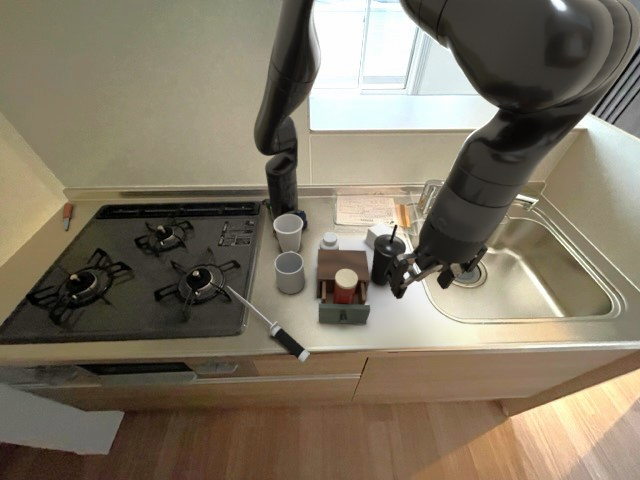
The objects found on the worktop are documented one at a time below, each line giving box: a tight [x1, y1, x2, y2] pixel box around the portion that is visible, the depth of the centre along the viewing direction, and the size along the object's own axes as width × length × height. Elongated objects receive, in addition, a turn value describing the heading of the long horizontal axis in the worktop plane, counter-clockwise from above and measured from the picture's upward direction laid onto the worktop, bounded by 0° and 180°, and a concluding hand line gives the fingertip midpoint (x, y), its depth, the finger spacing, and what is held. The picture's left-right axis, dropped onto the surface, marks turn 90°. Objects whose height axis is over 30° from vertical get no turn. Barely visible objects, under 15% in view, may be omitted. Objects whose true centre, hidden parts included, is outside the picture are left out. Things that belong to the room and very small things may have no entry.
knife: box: [227, 285, 311, 364], centre depth 59 cm, size 26×2×5 cm, turn 52°
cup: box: [274, 251, 305, 295], centre depth 68 cm, size 7×10×9 cm
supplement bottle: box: [319, 231, 340, 250], centre depth 73 cm, size 5×5×10 cm
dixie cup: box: [272, 214, 303, 253], centre depth 76 cm, size 8×8×10 cm
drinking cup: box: [370, 224, 407, 287], centre depth 65 cm, size 8×8×20 cm
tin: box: [333, 269, 358, 304], centre depth 59 cm, size 5×5×12 cm
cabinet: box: [316, 248, 371, 299], centre depth 67 cm, size 10×13×9 cm
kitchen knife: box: [62, 202, 73, 230], centre depth 86 cm, size 16×1×2 cm
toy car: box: [272, 209, 308, 239], centre depth 82 cm, size 6×12×6 cm
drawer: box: [317, 281, 371, 325], centre depth 61 cm, size 10×11×7 cm
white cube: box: [365, 221, 397, 251], centre depth 79 cm, size 6×6×6 cm
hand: (419, 289), depth 43 cm, fingers open, 8 cm apart
